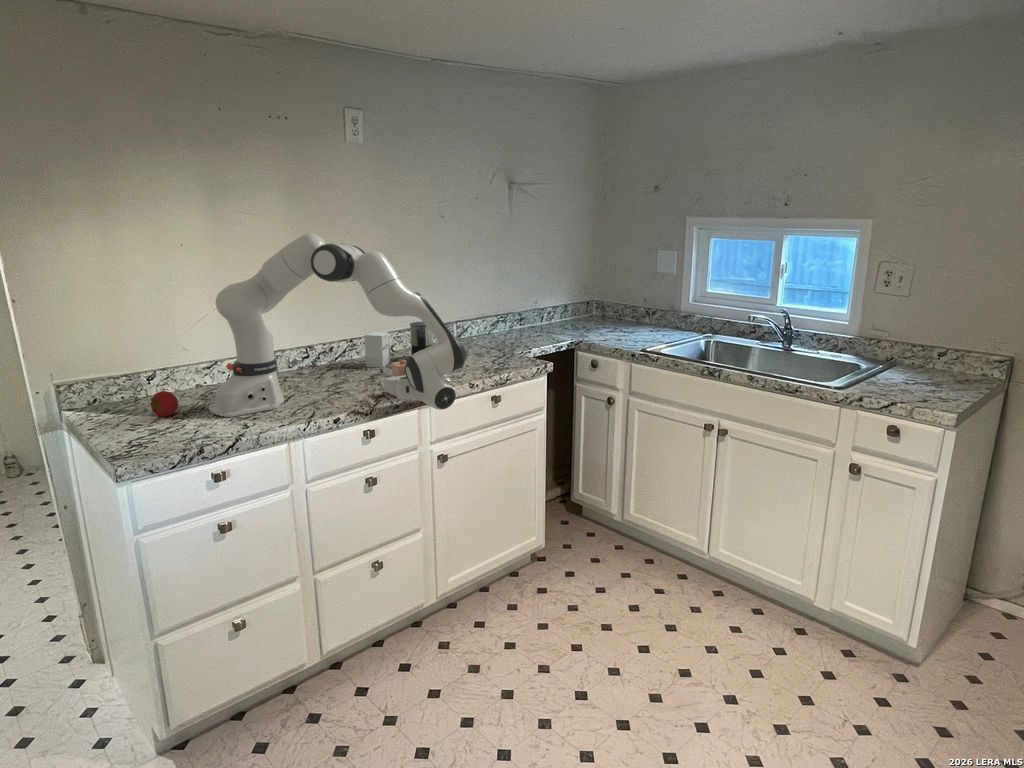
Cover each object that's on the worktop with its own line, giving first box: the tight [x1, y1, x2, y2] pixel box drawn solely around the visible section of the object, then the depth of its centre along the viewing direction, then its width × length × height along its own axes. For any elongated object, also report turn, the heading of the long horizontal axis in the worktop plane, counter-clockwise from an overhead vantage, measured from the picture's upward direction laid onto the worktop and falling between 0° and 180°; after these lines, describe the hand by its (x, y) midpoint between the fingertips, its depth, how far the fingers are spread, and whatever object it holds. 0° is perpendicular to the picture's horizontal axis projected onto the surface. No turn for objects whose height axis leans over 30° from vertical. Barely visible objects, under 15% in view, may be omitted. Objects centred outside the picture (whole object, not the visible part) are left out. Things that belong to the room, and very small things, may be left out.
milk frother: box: [409, 321, 433, 356], centre depth 264 cm, size 14×16×15 cm
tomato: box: [149, 390, 179, 418], centre depth 196 cm, size 8×8×8 cm
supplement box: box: [363, 331, 391, 368], centre depth 255 cm, size 7×7×13 cm
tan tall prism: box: [391, 359, 407, 376], centre depth 216 cm, size 6×6×12 cm
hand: (406, 375), depth 214 cm, fingers open, 8 cm apart
